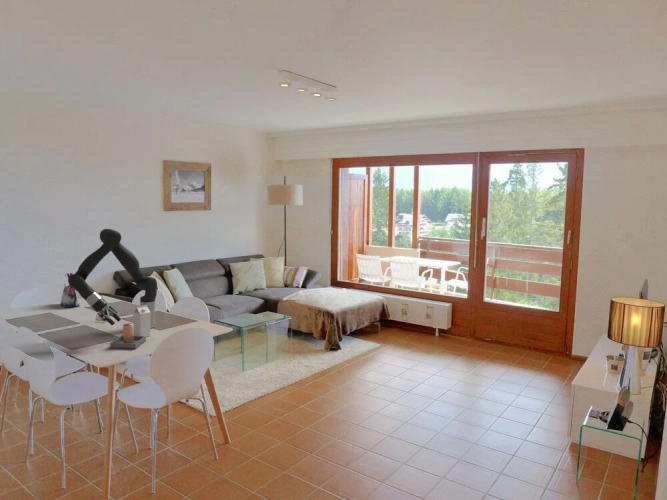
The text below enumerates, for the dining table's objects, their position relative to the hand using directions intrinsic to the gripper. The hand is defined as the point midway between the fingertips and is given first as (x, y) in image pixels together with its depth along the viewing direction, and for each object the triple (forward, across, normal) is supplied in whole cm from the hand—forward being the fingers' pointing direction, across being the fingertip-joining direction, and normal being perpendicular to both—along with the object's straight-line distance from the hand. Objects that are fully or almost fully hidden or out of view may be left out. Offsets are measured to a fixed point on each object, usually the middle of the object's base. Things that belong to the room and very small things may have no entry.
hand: (116, 322), depth 280 cm
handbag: (-42, +90, +60) cm, 116 cm away
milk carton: (+15, +18, +4) cm, 24 cm away
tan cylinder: (+13, 0, +4) cm, 14 cm away
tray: (+14, 0, +4) cm, 14 cm away
